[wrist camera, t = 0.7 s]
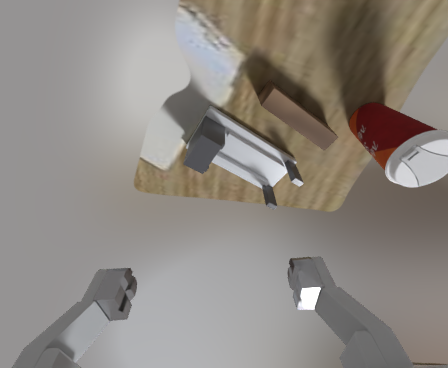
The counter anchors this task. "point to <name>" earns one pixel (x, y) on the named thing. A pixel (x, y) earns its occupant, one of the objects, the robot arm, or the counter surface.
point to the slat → (296, 115)
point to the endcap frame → (239, 153)
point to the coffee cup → (401, 144)
